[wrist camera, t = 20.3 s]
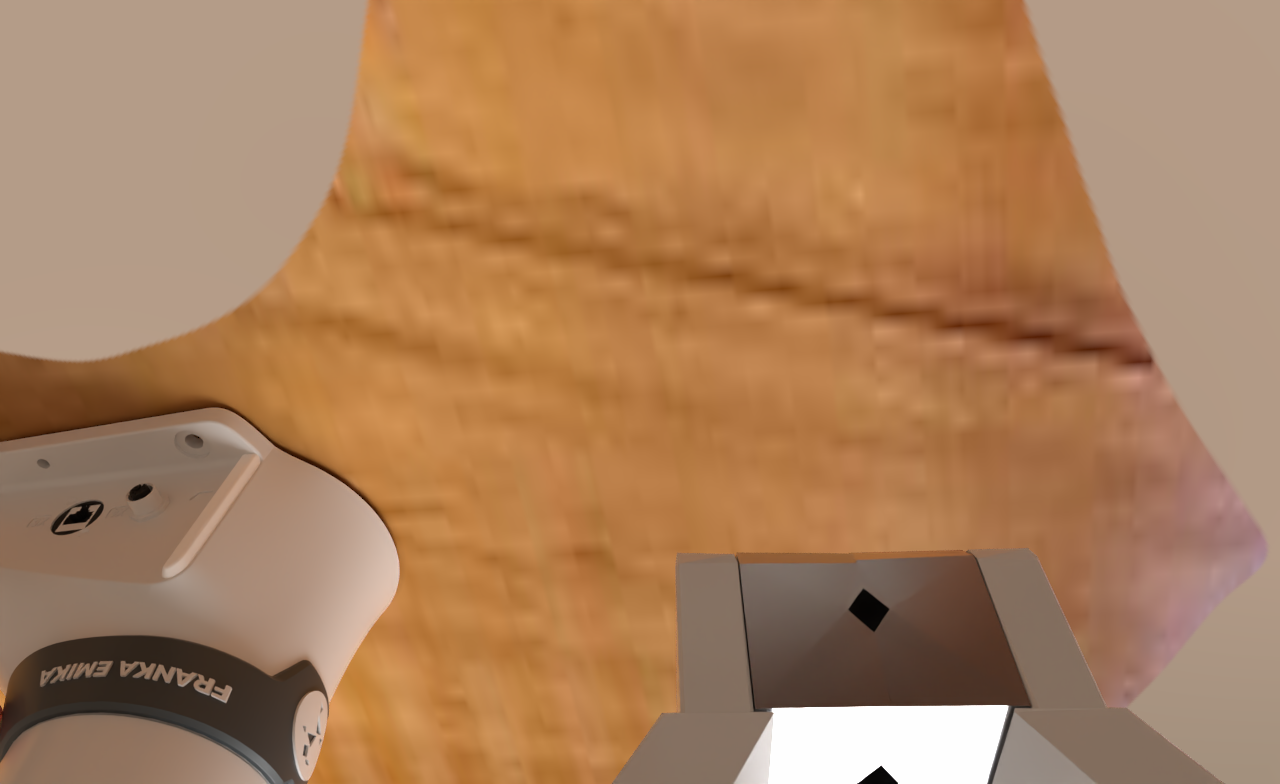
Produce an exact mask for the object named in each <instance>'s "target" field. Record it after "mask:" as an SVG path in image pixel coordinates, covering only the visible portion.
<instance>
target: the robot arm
mask: <svg viewBox="0 0 1280 784" xmlns="http://www.w3.org/2000/svg"><path fill="white" fill-rule="evenodd" d="M194 435H197V436H199V437H200V438H201V439H199V438H197V437H195V436H194ZM398 582H399V560H398V555H397V551H396V547H395V545H394V542H393V540H392V538H391V536H390V533H389V532H388V530H387V528H386V526H385V525H384V523H383V522H382V521H381V519H380V518H379V516H378V515H377V514H376V513H375V511H374V510H373V509H372V508H371V507H370V506H369V505H368V504H367V503H366V502H365V501H364V500H363V499H362V498H361V497H360V496H359V495H358V494H356V493H355V492H354V491H353V490H352V489H350V488H349V487H348V486H346V485H345V484H344V483H342V482H341V481H339V480H338V479H336V478H335V477H333V476H331V475H330V474H328V473H326V472H324V471H322V470H321V469H319V468H317V467H315V466H313V465H310V464H308V463H306V462H304V461H302V460H300V459H298V458H295V457H293V456H291V455H289V454H287V453H285V452H283V451H282V450H280V449H278V448H277V447H275V446H274V445H273V444H272V443H271V442H270V441H268V440H267V439H266V438H265V437H264V436H263V435H262V434H261V433H260V432H259V431H257V430H256V429H255V428H254V427H253V426H252V425H250V424H249V423H248V422H247V421H245V420H244V419H243V418H241V417H240V416H238V415H237V414H235V413H233V412H231V411H229V410H226V409H223V408H204V409H198V410H192V411H186V412H180V413H174V414H168V415H162V416H156V417H150V418H144V419H138V420H132V421H126V422H119V423H113V424H107V425H101V426H95V427H89V428H83V429H77V430H71V431H65V432H59V433H53V434H47V435H41V436H34V437H28V438H22V439H16V440H10V441H4V442H0V689H1V691H2V692H3V693H4V695H5V696H6V698H5V703H4V709H3V710H2V708H1V706H0V784H307V782H308V780H309V778H310V777H311V775H312V773H313V770H314V768H315V765H316V762H317V759H318V756H319V753H320V750H321V746H322V742H323V739H324V734H325V730H326V724H327V719H328V715H329V703H330V701H331V699H332V697H333V695H334V692H335V690H336V688H337V686H338V684H339V682H340V680H341V678H342V676H343V674H344V673H345V671H346V669H347V667H348V665H349V663H350V661H351V660H352V658H353V656H354V654H355V652H356V651H357V649H358V647H359V646H360V644H361V643H362V641H363V639H364V638H365V636H366V635H367V633H368V632H369V630H370V629H371V628H372V626H373V625H374V623H375V622H376V621H377V619H378V618H379V617H380V616H381V615H382V613H383V612H384V611H385V610H386V608H387V607H388V606H389V604H390V603H391V601H392V599H393V597H394V595H395V592H396V590H397V586H398ZM676 698H677V713H662V714H661V715H660V717H659V718H658V720H657V721H656V722H655V724H654V725H653V727H652V728H651V729H650V731H649V732H648V734H647V735H646V736H645V738H644V739H643V741H642V742H641V743H640V745H639V746H638V748H637V749H636V750H635V752H634V753H633V755H632V756H631V757H630V759H629V760H628V762H627V763H626V764H625V766H624V767H623V769H622V770H621V771H620V773H619V774H618V776H617V777H616V779H615V780H614V781H613V783H612V784H1224V783H1223V782H1222V781H1221V780H1219V779H1218V778H1217V777H1215V776H1214V775H1213V774H1211V773H1210V772H1209V771H1208V770H1206V769H1205V768H1204V767H1202V766H1201V765H1200V764H1199V763H1197V762H1196V761H1195V760H1193V759H1192V758H1190V756H1188V755H1187V754H1186V753H1184V752H1183V751H1182V750H1180V749H1179V748H1178V747H1177V746H1175V745H1174V744H1173V743H1171V742H1170V741H1169V740H1168V739H1166V738H1165V737H1164V736H1162V735H1161V734H1160V733H1159V732H1157V731H1156V730H1154V729H1153V728H1152V727H1151V726H1149V725H1148V724H1147V723H1146V722H1144V721H1143V720H1142V719H1140V718H1139V717H1138V716H1137V715H1135V714H1134V713H1133V712H1131V711H1130V710H1129V709H1128V708H1108V707H1107V706H1106V704H1105V702H1104V699H1103V697H1102V695H1101V693H1100V691H1099V689H1098V687H1097V684H1096V682H1095V680H1094V678H1093V676H1092V674H1091V671H1090V669H1089V667H1088V665H1087V663H1086V661H1085V658H1084V656H1083V654H1082V652H1081V650H1080V648H1079V646H1078V643H1077V641H1076V639H1075V637H1074V635H1073V633H1072V630H1071V628H1070V626H1069V624H1068V622H1067V620H1066V617H1065V615H1064V613H1063V611H1062V609H1061V607H1060V604H1059V602H1058V600H1057V598H1056V596H1055V594H1054V592H1053V589H1052V587H1051V585H1050V583H1049V581H1048V579H1047V576H1046V574H1045V572H1044V570H1043V568H1042V566H1041V563H1040V561H1039V559H1038V557H1037V556H1036V555H1035V554H1034V553H1032V552H1031V551H1030V550H1029V549H1028V548H1018V549H980V550H967V551H966V552H965V551H963V550H947V551H906V552H864V553H849V554H836V553H736V557H735V555H734V554H700V553H677V558H676ZM1 719H2V720H1Z"/></svg>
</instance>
